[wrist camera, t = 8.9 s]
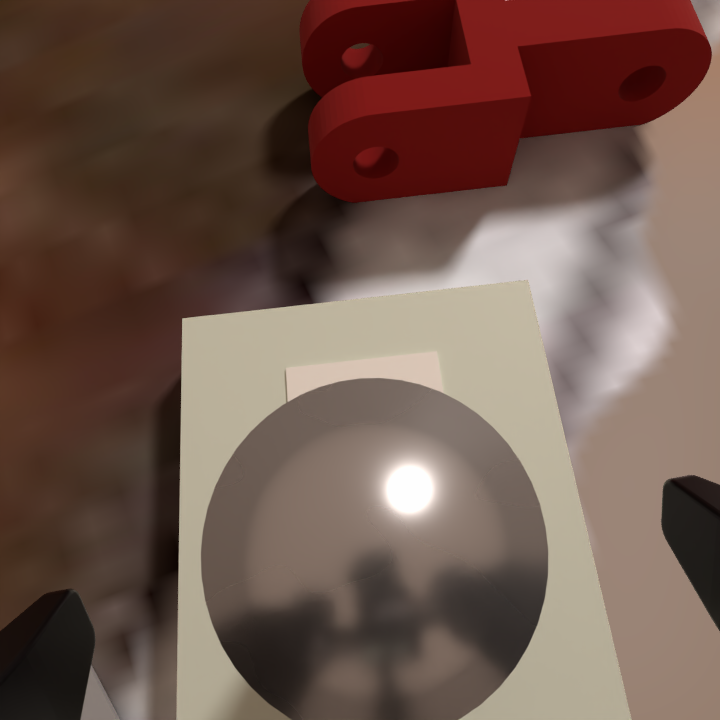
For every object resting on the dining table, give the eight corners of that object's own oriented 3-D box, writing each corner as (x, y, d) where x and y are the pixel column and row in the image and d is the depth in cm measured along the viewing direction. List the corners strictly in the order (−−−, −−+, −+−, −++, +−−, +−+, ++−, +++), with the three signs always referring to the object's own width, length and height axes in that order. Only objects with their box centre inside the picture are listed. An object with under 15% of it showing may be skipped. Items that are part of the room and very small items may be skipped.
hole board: (645, 908, 16) (690, 961, 14) (203, 953, 16) (170, 1015, 14) (514, 312, 23) (528, 278, 20) (203, 347, 23) (181, 317, 21)
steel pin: (338, 657, 19) (220, 781, 6) (317, 534, 20) (186, 413, 7) (456, 630, 19) (599, 694, 6) (427, 510, 20) (491, 350, 7)
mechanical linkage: (319, 209, 25) (303, 122, 21) (307, 84, 28) (291, -18, 24) (693, 166, 25) (761, 69, 21) (646, 44, 28) (696, -66, 23)
